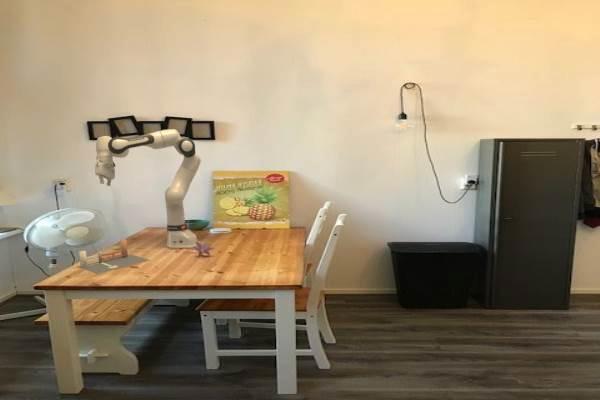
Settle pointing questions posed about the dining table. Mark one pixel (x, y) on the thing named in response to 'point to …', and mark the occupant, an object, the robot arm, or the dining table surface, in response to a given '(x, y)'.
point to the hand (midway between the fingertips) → (105, 184)
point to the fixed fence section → (84, 259)
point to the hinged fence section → (123, 250)
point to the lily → (203, 248)
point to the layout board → (114, 264)
